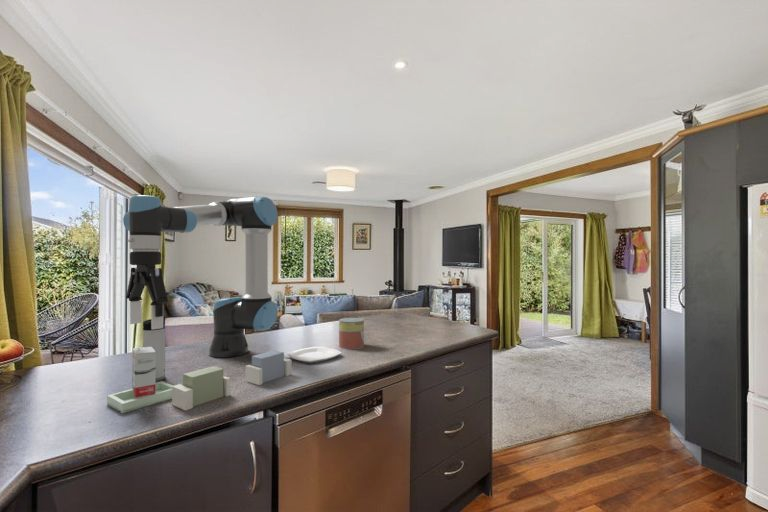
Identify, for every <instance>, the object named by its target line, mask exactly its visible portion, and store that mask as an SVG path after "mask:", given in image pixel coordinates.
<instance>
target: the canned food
mask: <svg viewBox="0 0 768 512" xmlns="http://www.w3.org/2000/svg"><path fill="white" fill-rule="evenodd" d="M364 336H365V319H364V318H361V317H343V318H340V319H338V348H340V349H342V350H359V349H362V348H364V347H365V344H364V343H365V337H364Z"/></svg>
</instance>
